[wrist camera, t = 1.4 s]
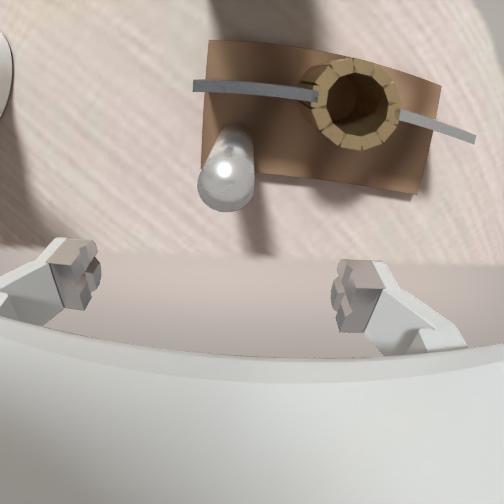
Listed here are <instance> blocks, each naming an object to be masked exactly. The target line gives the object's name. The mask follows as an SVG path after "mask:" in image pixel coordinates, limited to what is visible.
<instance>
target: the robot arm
mask: <svg viewBox="0 0 504 504" xmlns="http://www.w3.org/2000/svg"><path fill="white" fill-rule="evenodd" d="M11 79H12V58H11V52H10V48H9V45H8V42H7V40H6V38H5V37H4V36H3V34H2V33H1V32H0V117H1V115H2V113H3V111H4V109H5V106H6V103H7V100H8V96H9V92H10V87H11ZM97 252H98V251H97V247H96V243H95V242H94V241H93V240H85V239H74V238H64V237H57V238H55V239H54V240H53V241H52V242H51V243H50V244H49V245H48V246H47V247H46V249H45V250H44V251H43V252H42V253H41V254H40V255H39V256H38V258H37V259H36V260H35V261H30V262H28V263H26V264H24V265H22V266H20V267H18V268H16V269H14V270H12V271H10V272H8V273H6V274H4V275H2V276H0V504H504V343H499V344H494V345H487V346H481V347H474V348H468V347H467V345H466V343H465V341H464V339H463V338H462V336H461V334H460V332H459V330H458V329H457V327H456V326H455V325H454V324H452V323H451V322H450V321H448V320H447V319H445V318H444V317H442V316H441V315H440V314H438V313H437V312H435V311H434V310H433V309H431V308H430V307H428V306H427V305H426V304H424V303H423V302H421V301H420V300H418V299H417V298H415V297H414V296H412V295H411V294H410V293H408V292H407V291H405V290H400V288H399V286H398V284H397V282H396V281H395V279H394V277H393V275H392V274H391V272H390V270H389V269H388V267H387V265H386V263H385V262H383V261H373V260H348V259H341V260H340V262H339V264H338V268H337V272H338V274H339V277H337V278H336V279H335V280H334V282H333V285H332V290H331V303H332V307H333V309H334V310H336V311H337V315H336V321H337V324H338V328H339V331H340V332H348V333H364V335H365V336H366V337H367V338H368V339H369V340H370V341H371V343H372V344H373V345H374V346H375V347H376V348H377V349H378V350H379V351H380V352H381V353H382V354H383V355H384V356H382V357H363V358H276V357H254V356H236V355H222V354H209V353H199V352H189V351H180V350H170V349H162V348H154V347H147V346H140V345H134V344H127V343H121V342H114V341H109V340H103V339H98V338H92V337H87V336H82V335H77V334H72V333H68V332H63V331H58V330H54V329H50V328H45V327H42V326H43V325H44V324H45V323H47V322H48V321H49V320H50V319H52V318H53V317H54V316H56V315H57V314H58V313H59V312H61V311H62V310H63V309H64V308H69V309H76V310H83V311H84V310H85V309H86V307H87V305H88V303H89V301H90V299H91V292H92V291H94V290H96V289H97V287H98V286H99V283H100V279H101V266H100V262H99V261H98V260H97V259H96V258H95V256H96V254H97Z"/></svg>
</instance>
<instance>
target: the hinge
mask: <svg viewBox="0 0 504 504" xmlns="http://www.w3.org/2000/svg"><path fill="white" fill-rule="evenodd" d="M341 76H344V77H346V78H347V79H348V80H349V81H350V82H352V84H353V86H354V89H355V91H356V94H357V98H356V104H355V108H354V109H353V110H352V111H351V113H350V114H349V115H348V116H347V117H345V118H342V119H339V120H337V121H333V120H331V118H330V116H329V113H328V111H327V108H326V103H327V96H328V90H329V89H330V87H331V86H332V85H333V84H334V83H335V81H336V80H337V79H338V78H339V77H341ZM299 81H300V82H301V83H298V85H297V86H291V85H283V84H275V83H265V82H255V81H242V80H225V79H199V80H193V92H219V93H237V94H250V95H262V96H272V97H280V98H289V99H296V100H298V101H296V102H297V104H298V106H299V109H300V111H301V113H302V116H303V117H304V118H305V119H306V120H307V121H308V122H310V123H311V124H312V125H313V126H314V127H316V128H317V129H318V130H319V131H320V132H321V133H323V134H324V135H325V136H326V137H328V138H329V139H330V140H331V141H333V142H334V143H335V144H336V145H337V146H338V145H339V146H340V147H343V148H349V149H354V150H360V151H361V149H362V150H366V149H369V148H371V147H374V146H377V145H380V144H382V142H381V141H383V142H385V141H386V139H387V138H388V137H389V136H390V135H391V133H392V132H393V131H394V130H395V129H396V126H395V125H394V124H397V125H398V122H399V120H400V121H404V122H408V123H411V124H415V125H418V126H421V127H425V128H428V129H431V130H434V131H437V132H440V133H443V134H446V135H449V136H452V137H455V138H458V139H461V140H463V141H466V142H469V143H471V144H474V143H475V138H476V135H474V134H472V133H469V132H467V131H465V130H462V129H460V128H457V127H455V126H452V125H450V124H447V123H445V122H442V121H439V120H437V119H434V118H431V117H428V116H425V115H422V114H419V113H415V112H412V111H409V110H405V109H402V108H401V105H400V104H397V103H400V102H401V99H400V96H399V93H398V90H397V87H396V84H395V82H392V81H393V79H392V78H391V77H390V76H389V75H388V74H387V73H386V72H385V71H384V70H383V69H382V68H381V67H380V66H379V65H375V63H372V62H369V61H365V60H361V59H357V58H347V59H339V60H332V61H326V62H323V63H320V64H317V65H314V66H311V68H309V69H308V70H307V71H306V72H305V73H304V75H303V76H302V77H301V78H300V79H299Z"/></svg>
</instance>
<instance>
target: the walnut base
mask: <svg viewBox="0 0 504 504" xmlns="http://www.w3.org/2000/svg"><path fill="white" fill-rule="evenodd" d="M347 58H351V57H346V56H342V55H337V54H333V53H328V52H322V51H317V50H311V49H305V48H299V47H292V46H285V45H276V44H267V43H257V42H244V41H225V40H209V44H208V55H207V67H206V79H225V80H242V81H255V82H265V83H275V84H283V85H291V86H297V85H298V83H301V82H300V81H299V79H300V78H301V77H302V76H303V75H304V73H305V72H306V71H307V70H308V69H309V68H311V66H314V65H317V64H320V63H323V62H326V61H332V60H339V59H347ZM375 65H378V64H375ZM379 66H380V67H381V68H382V69H383V70H384V71H385V72H386V73H387V74H388V75H389V76H390V77H391V78H392V79H393V81H392V82H395V84H396V87H397V90H398V93H399V96H400V99H401V102H400V103H397V104H400V105H401V108H402V109H405V110H409V111H412V112H415V113H419V114H422V115H425V116H428V117H431V118H434V119H436V115H437V109H438V104H439V98H440V92H441V86H440V85H438V84H435V83H432V82H430V81H427V80H424V79H422V78H419V77H416V76H413V75H410V74H407V73H404V72H401V71H398V70H395V69H392V68H388V67H385V66H381V65H379ZM356 98H357V94H356V91H355V89H354V86H353V84H352V82H350V81H349V80H348V79H347V78H346V77H344V76H341V77H339V78H338V79H337V80H336V81H335V83H334V84H333V85H332V86H331V87H330V89H329V90H328V96H327V103H326V108H327V111H328V113H329V116H330V118H331V120H333V121H337V120H339V119H342V118H345V117H347V116H348V115H349V114H350V113H351V111H352V110H353V109H354V108H355V104H356ZM296 101H298V100H296V99H289V98H280V97H272V96H262V95H250V94H237V93H219V92H205V95H204V112H203V130H202V153H201V169H203V167H204V165H205V163H206V160H207V158H208V156H209V154H210V152H211V150H212V148H213V146H214V144H215V142H216V140H217V138H218V136H219V134H220V133H221V131H222V129H223V128H224V127H226V126H227V125H229V124H233V123H239V124H243V125H245V126H246V127H248V128H249V130H250V131H251V133H252V136H253V153H254V173H264V174H275V175H285V176H294V177H303V178H312V179H320V180H328V181H335V182H343V183H350V184H356V185H363V186H369V187H376V188H382V189H388V190H393V191H399V192H405V193H410V194H415V195H417V193H418V189H419V186H420V182H421V178H422V175H423V171H424V167H425V163H426V159H427V155H428V151H429V147H430V143H431V138H432V134H433V130H431V129H428V128H425V127H421V126H418V125H415V124H411V123H408V122H404V121H400V120H399V122H398V125H397V124H394V125H395V126H396V129H395V130H394V131H393V132H392V133H391V135H390V136H389V137H388V138H387V139H386V141H385V142H383V141H381V142H382V144H380V145H377V146H374V147H371V148H369V149H366V150H362V149H361V151H360V150H354V149H349V148H343V147H340V146H339V145H338V146H337V145H336V144H335V143H334V142H333V141H331V140H330V139H329V138H328V137H326V136H325V135H324V134H323V133H321V132H320V131H319V130H318V129H317V128H316V127H314V126H313V125H312V124H311V123H310V122H308V121H307V120H306V119H305V118H304V117H303V116H302V113H301V111H300V109H299V106H298V104H297V102H296Z"/></svg>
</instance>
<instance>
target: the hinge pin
mask: <svg viewBox="0 0 504 504" xmlns="http://www.w3.org/2000/svg"><path fill="white" fill-rule="evenodd" d="M197 188H198V192H199V195H200V197H201V199H202V200H203V202H204V203H205V204H206V205H207V206H209V207H210V208H212V209H214V210H217V211H220V212H233V211H236V210H239V209H241V208H243V207H244V206H245V205H246V204H248V202H249V201H250V200H251V198H252V196H253V193H254V189H255V180H254V153H253V136H252V133H251V131H250V130H249V128H248V127H246V126H245V125H243V124H239V123H233V124H229V125H227V126H226V127H224V128H223V129H222V131H221V133H220V134H219V136H218V138H217V140H216V142H215V144H214V146H213V148H212V150H211V152H210V154H209V156H208V158H207V160H206V163H205V165H204V167H203V169H202V171H201V173H200V175H199V178H198V183H197Z"/></svg>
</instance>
